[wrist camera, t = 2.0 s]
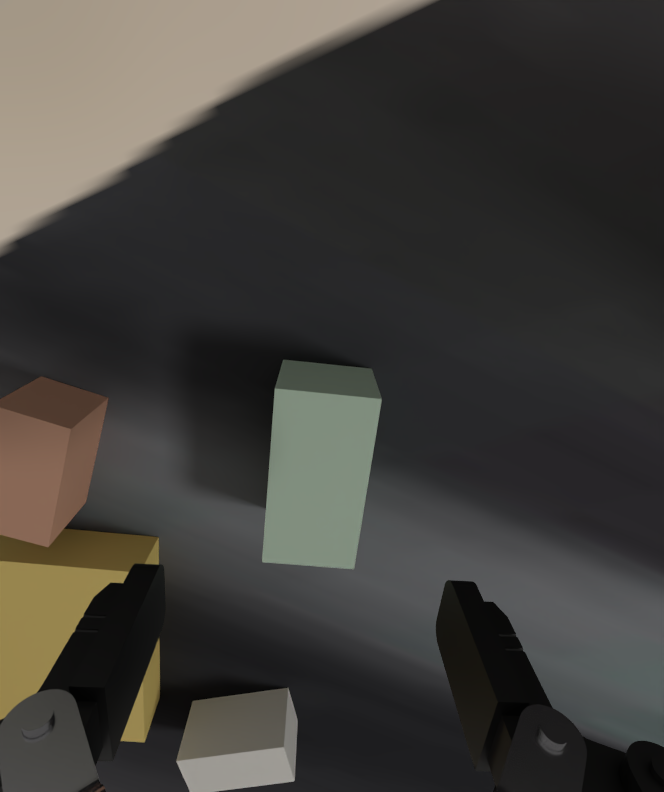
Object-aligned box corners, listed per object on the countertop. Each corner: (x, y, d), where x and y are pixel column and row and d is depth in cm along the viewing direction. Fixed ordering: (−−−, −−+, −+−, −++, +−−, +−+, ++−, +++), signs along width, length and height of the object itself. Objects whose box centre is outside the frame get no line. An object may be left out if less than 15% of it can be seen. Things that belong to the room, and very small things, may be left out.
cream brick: (288, 685, 28) (283, 747, 25) (297, 718, 29) (294, 781, 26) (193, 698, 28) (176, 761, 25) (206, 730, 29) (191, 794, 26)
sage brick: (370, 367, 21) (381, 398, 17) (348, 514, 24) (354, 569, 20) (283, 358, 20) (274, 388, 17) (271, 507, 23) (262, 561, 20)
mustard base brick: (161, 531, 24) (140, 572, 21) (162, 690, 28) (144, 742, 25) (4, 517, 23) (-40, 557, 21) (28, 681, 28) (-5, 733, 25)
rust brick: (43, 375, 20) (-10, 404, 17) (109, 396, 21) (71, 429, 18) (25, 483, 22) (-25, 527, 19) (87, 500, 23) (48, 547, 20)
